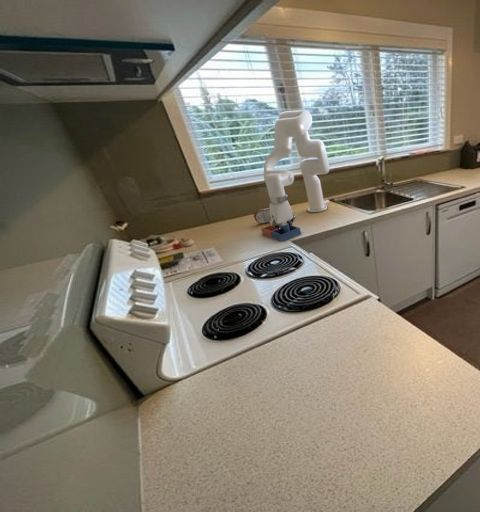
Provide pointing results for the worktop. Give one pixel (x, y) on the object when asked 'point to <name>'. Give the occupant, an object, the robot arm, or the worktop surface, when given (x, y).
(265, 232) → the terracotta bin
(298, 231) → the blue bin
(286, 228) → the small blue cylinder
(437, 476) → the worktop surface
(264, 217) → the tin
